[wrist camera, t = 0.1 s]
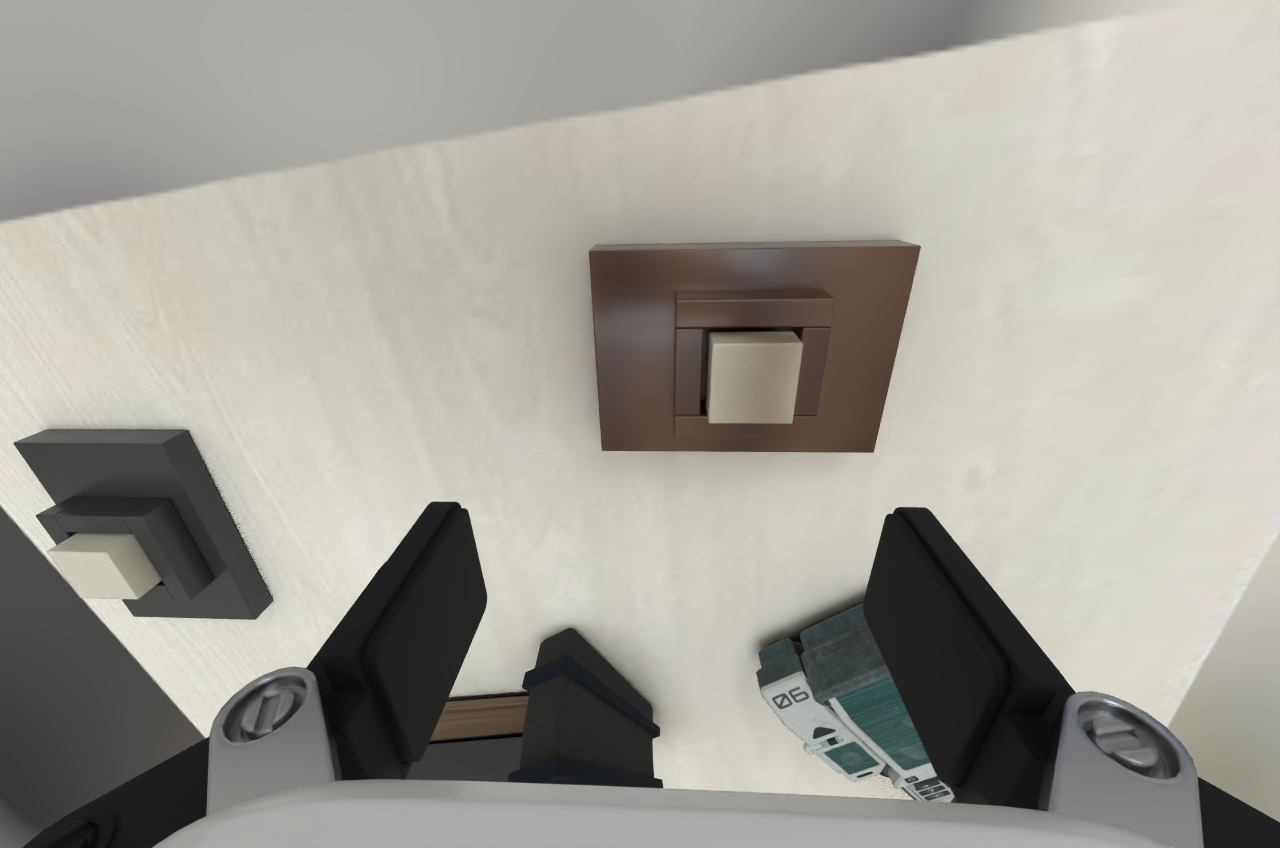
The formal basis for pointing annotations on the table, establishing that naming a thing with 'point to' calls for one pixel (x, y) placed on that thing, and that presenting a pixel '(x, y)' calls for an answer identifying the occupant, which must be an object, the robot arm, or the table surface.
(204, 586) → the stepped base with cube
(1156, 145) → the table surface
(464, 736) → the file folder
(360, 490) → the table surface
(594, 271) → the brown switch frame
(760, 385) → the beige switch key
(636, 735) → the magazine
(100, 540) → the far key
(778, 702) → the communication device
